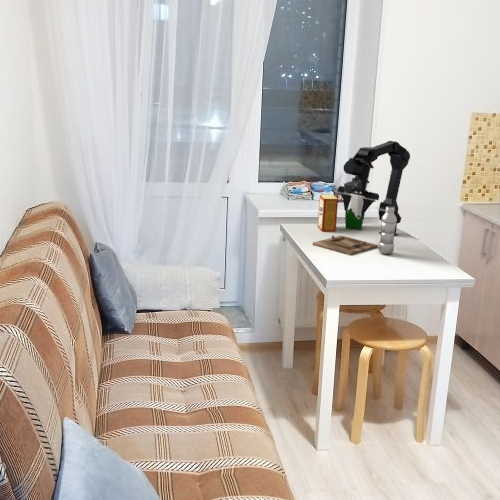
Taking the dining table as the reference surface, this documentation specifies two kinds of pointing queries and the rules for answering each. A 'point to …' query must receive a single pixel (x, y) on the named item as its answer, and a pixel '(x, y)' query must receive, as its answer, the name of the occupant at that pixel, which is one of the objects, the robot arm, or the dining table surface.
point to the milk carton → (354, 212)
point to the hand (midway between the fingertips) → (353, 212)
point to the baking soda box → (327, 213)
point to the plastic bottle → (387, 231)
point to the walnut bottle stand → (345, 245)
